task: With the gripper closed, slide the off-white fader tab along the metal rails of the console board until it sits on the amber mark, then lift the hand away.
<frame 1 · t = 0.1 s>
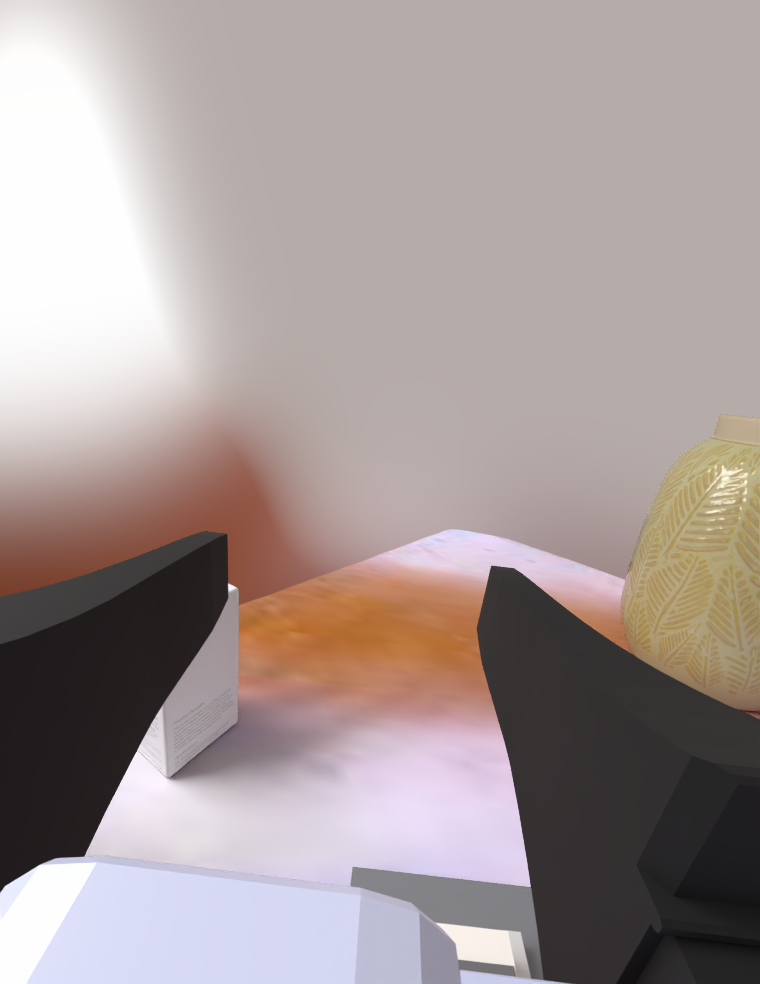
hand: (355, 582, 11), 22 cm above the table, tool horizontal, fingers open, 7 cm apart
skincare box: (188, 740, 30), on the table
vase: (695, 666, 45), on the table
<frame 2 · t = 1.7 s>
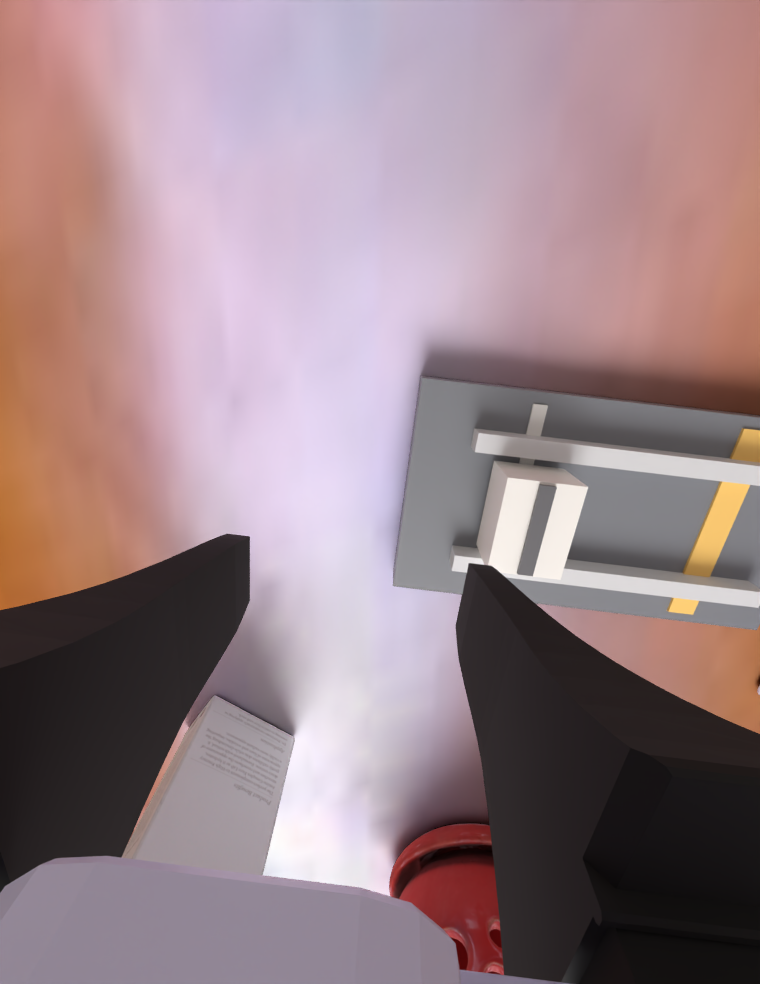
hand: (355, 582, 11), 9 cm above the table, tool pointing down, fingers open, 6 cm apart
plant pot: (465, 858, 30), on the table
fader tab: (526, 519, 17), point 3 cm above the table, slide at 0.0 cm
console board: (589, 503, 20), on the table
skincare box: (245, 729, 26), on the table
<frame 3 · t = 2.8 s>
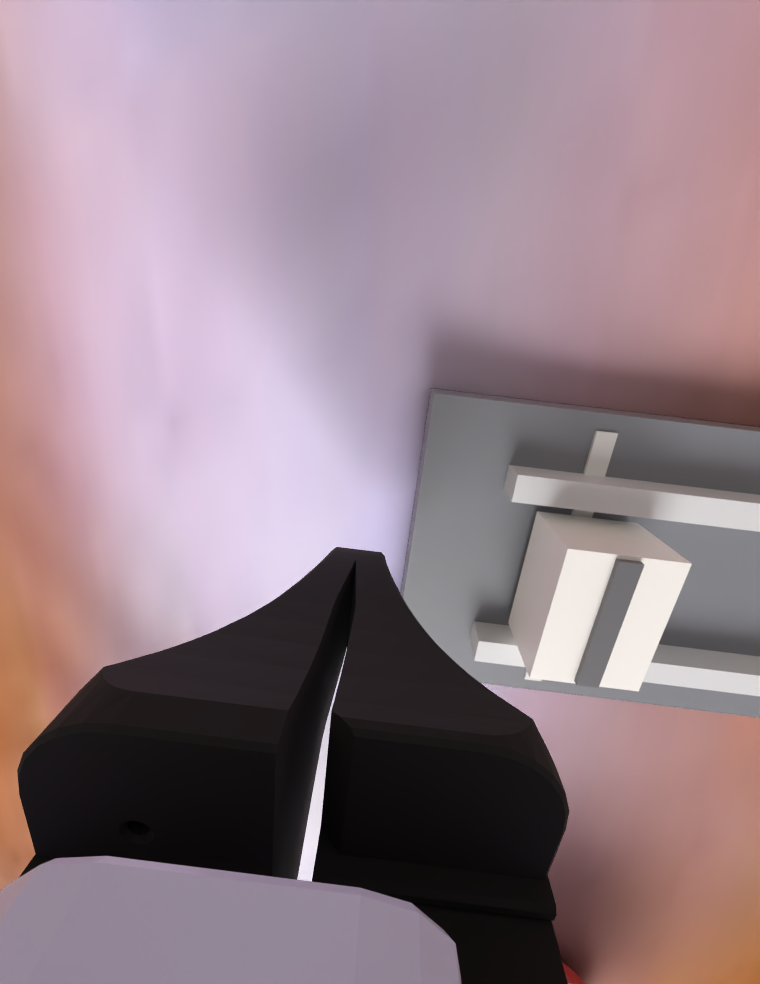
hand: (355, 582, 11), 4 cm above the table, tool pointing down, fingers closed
fader tab: (586, 599, 12), point 3 cm above the table, slide at 0.0 cm
console board: (660, 561, 15), on the table
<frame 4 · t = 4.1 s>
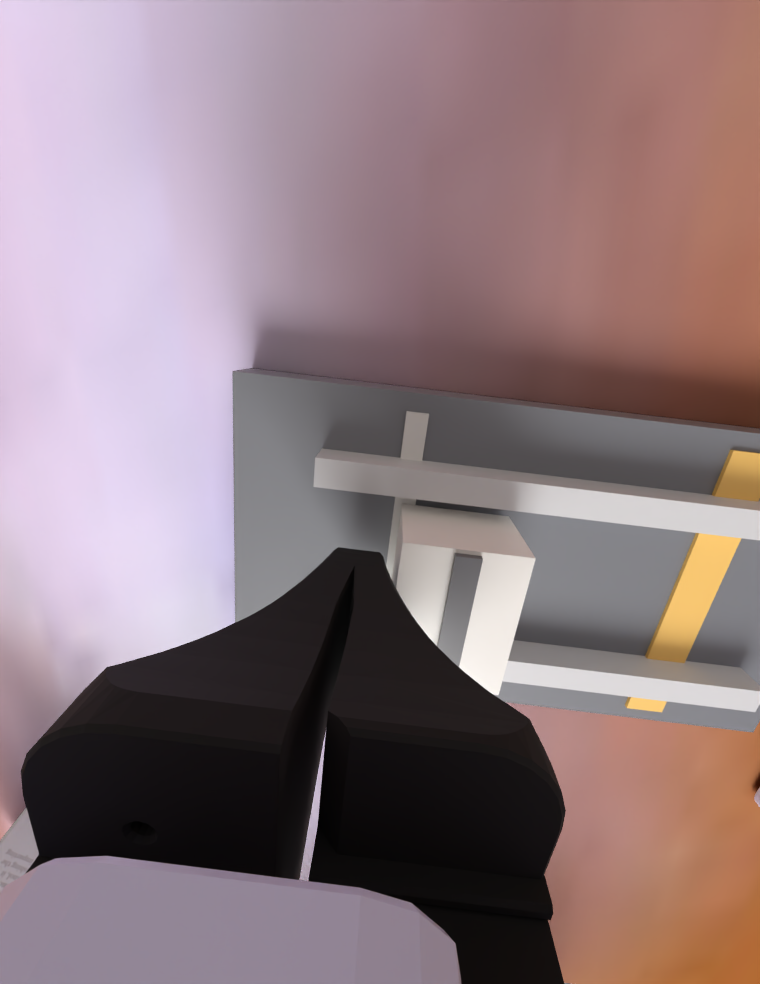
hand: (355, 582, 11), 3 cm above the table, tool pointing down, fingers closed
fader tab: (448, 597, 11), point 3 cm above the table, slide at 1.4 cm, touching gripper
console board: (514, 552, 14), on the table
skincare box: (91, 830, 20), on the table
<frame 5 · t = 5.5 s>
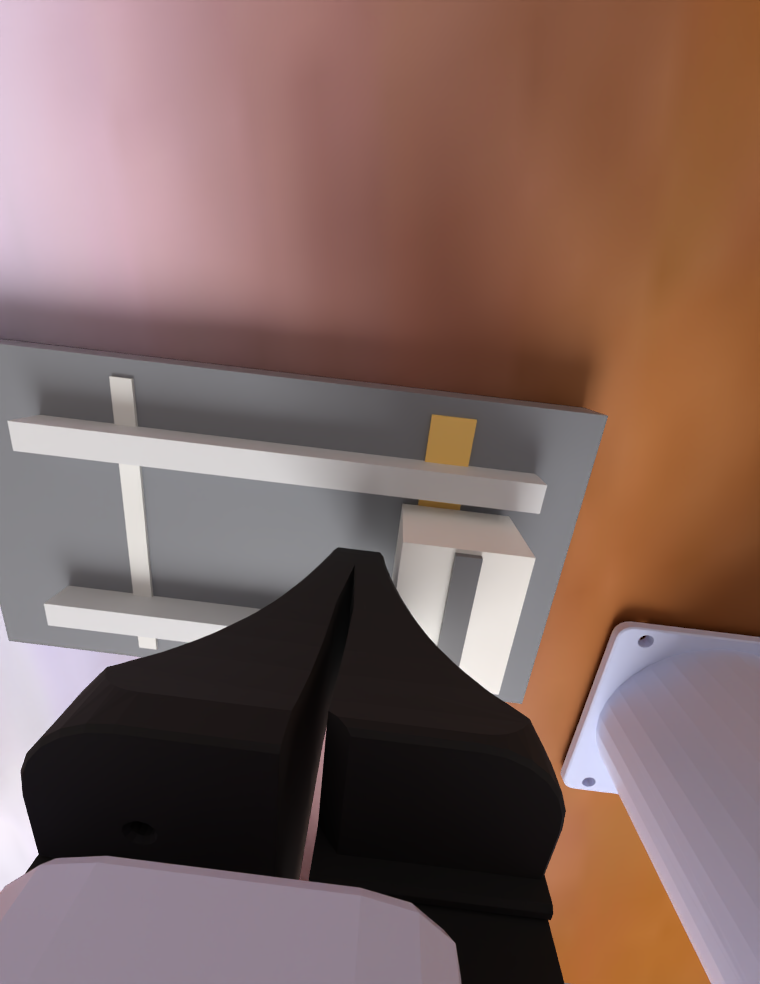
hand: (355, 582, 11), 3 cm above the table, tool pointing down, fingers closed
fader tab: (448, 596, 11), point 3 cm above the table, slide at 9.4 cm, touching gripper
console board: (280, 523, 14), on the table
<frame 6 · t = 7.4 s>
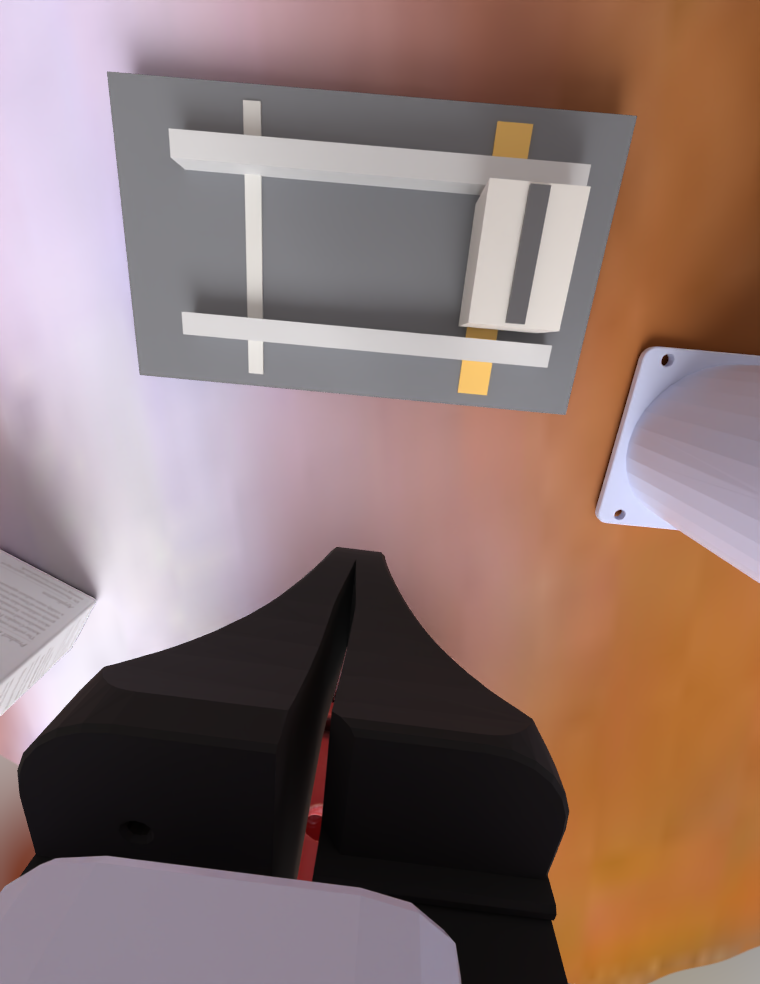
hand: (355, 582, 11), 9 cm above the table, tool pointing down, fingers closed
plant pot: (316, 749, 27), on the table
fader tab: (516, 265, 14), point 3 cm above the table, slide at 9.5 cm
console board: (362, 267, 17), on the table
skincare box: (45, 594, 23), on the table
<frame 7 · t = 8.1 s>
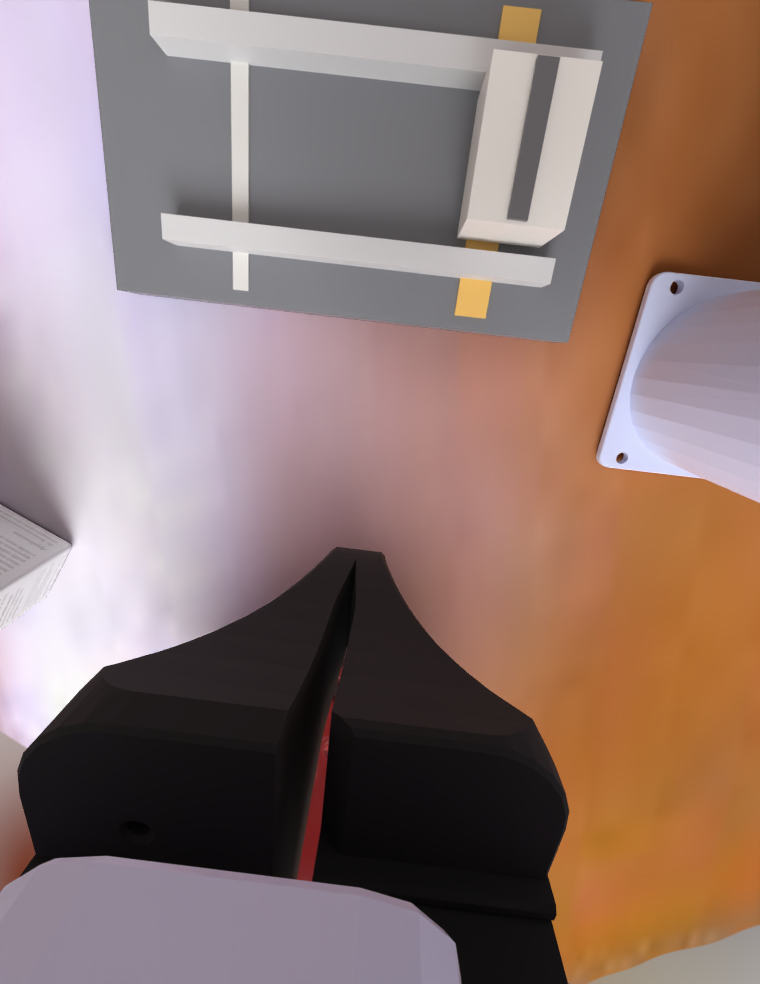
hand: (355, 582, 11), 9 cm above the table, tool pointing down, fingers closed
plant pot: (301, 712, 26), on the table
fader tab: (520, 161, 13), point 3 cm above the table, slide at 9.5 cm
console board: (356, 179, 16), on the table
skincare box: (18, 539, 22), on the table
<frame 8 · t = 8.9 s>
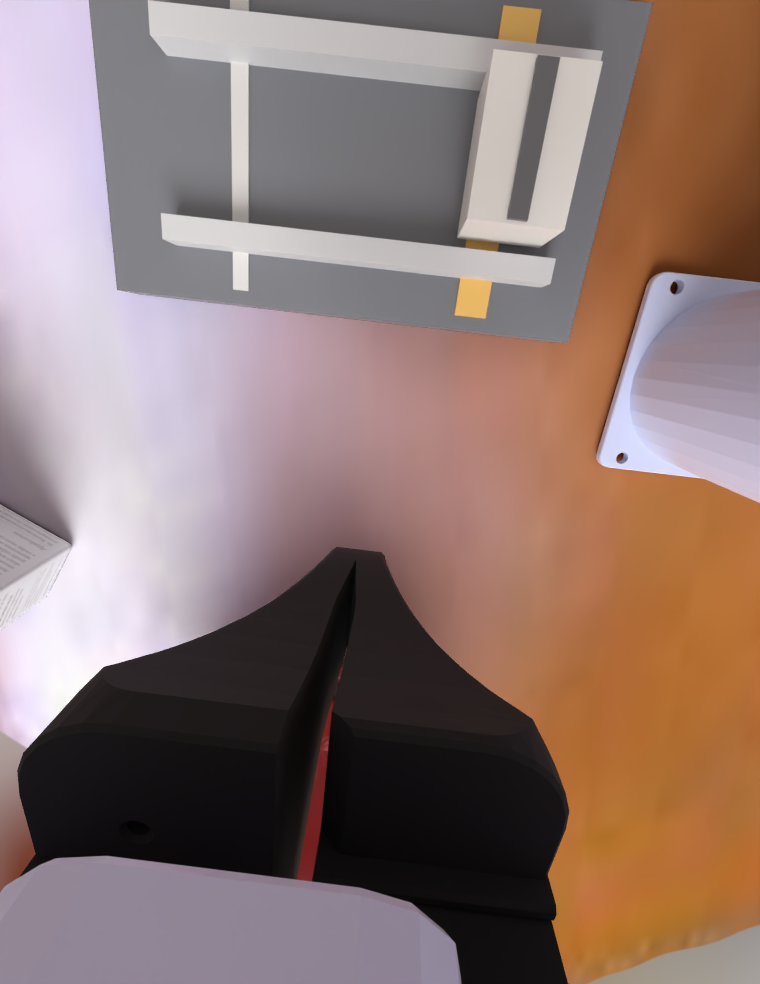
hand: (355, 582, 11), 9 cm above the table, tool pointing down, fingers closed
plant pot: (301, 712, 26), on the table
fader tab: (520, 161, 13), point 3 cm above the table, slide at 9.5 cm
console board: (356, 179, 16), on the table
skincare box: (18, 539, 22), on the table
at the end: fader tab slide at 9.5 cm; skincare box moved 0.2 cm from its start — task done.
